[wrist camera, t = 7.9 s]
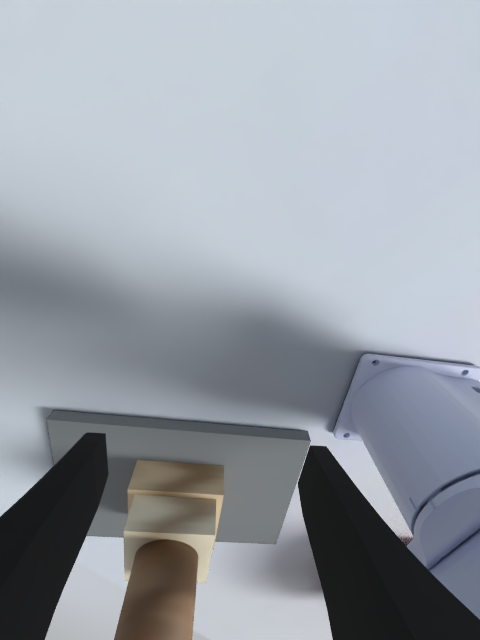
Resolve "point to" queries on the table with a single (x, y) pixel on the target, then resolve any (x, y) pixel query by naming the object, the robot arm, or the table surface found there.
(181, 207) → the table surface
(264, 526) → the grey base plate
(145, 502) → the birch top block
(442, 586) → the robot arm
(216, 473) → the oak bottom block
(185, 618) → the walnut cylinder
